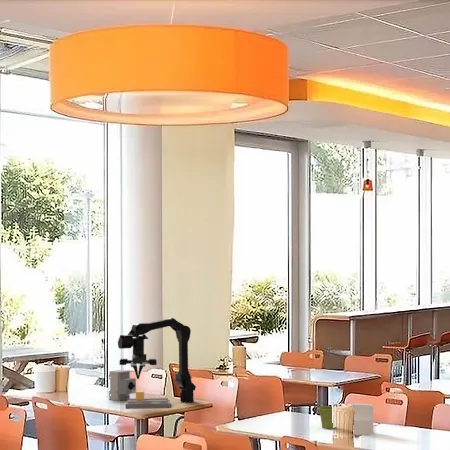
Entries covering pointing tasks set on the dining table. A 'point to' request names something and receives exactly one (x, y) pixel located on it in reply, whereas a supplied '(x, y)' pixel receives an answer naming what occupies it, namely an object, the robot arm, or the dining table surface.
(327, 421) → the plant pot
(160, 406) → the panel
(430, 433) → the dining table surface
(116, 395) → the circuit breaker
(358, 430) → the grey upright block
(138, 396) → the toggle
